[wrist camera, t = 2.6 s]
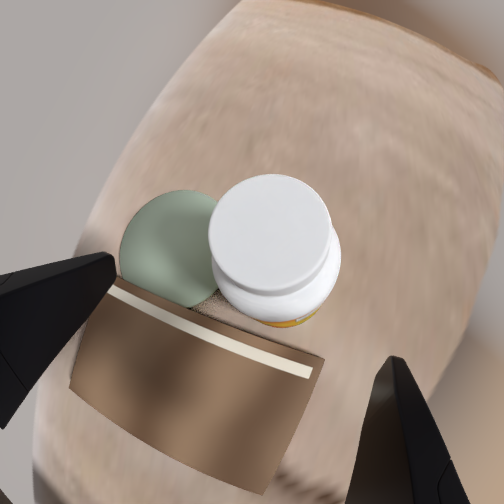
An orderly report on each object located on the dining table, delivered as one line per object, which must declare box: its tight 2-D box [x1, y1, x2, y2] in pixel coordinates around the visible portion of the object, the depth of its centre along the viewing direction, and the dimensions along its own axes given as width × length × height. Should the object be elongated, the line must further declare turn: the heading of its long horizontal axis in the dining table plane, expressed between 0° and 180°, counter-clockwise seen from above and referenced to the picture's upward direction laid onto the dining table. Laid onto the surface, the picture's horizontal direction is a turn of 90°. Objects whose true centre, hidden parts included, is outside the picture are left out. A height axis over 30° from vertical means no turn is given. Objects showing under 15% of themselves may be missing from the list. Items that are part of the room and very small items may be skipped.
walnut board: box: [69, 276, 325, 495], centre depth 16 cm, size 16×10×1 cm, turn 69°
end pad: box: [120, 190, 219, 309], centre depth 20 cm, size 9×9×1 cm
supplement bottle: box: [208, 174, 341, 328], centre depth 13 cm, size 5×5×10 cm
